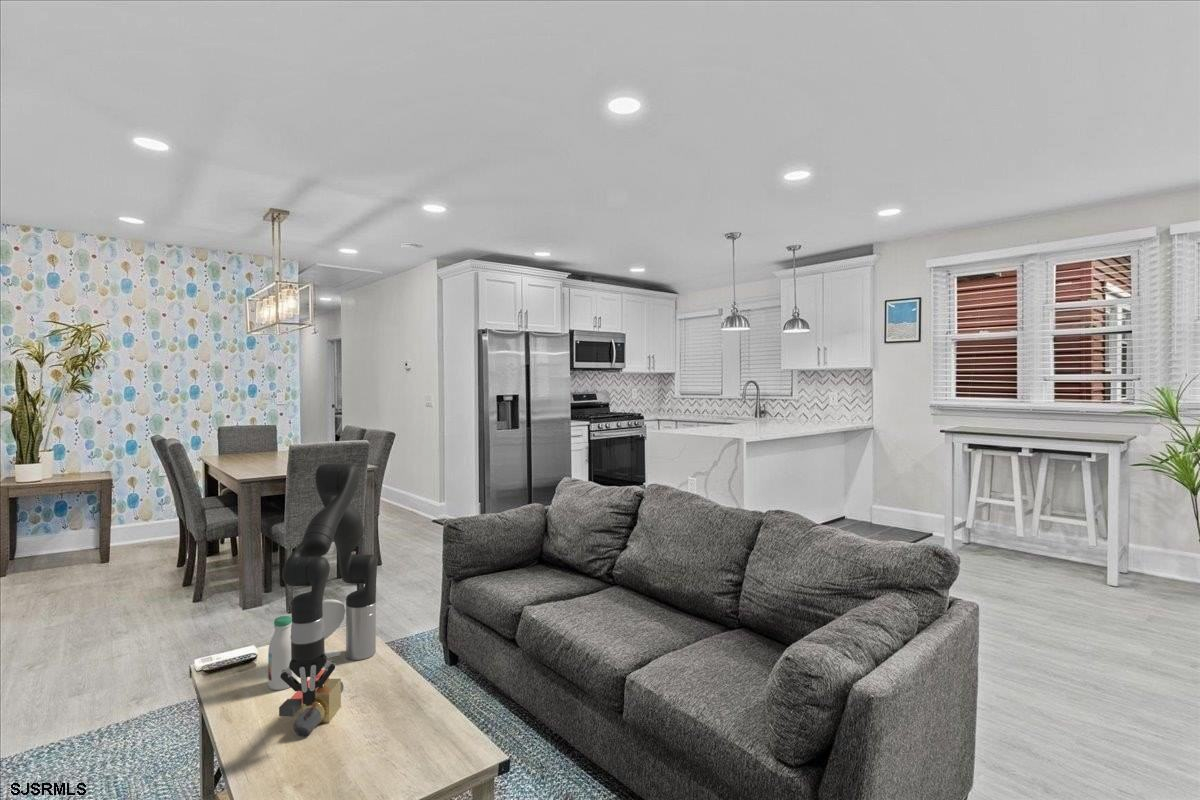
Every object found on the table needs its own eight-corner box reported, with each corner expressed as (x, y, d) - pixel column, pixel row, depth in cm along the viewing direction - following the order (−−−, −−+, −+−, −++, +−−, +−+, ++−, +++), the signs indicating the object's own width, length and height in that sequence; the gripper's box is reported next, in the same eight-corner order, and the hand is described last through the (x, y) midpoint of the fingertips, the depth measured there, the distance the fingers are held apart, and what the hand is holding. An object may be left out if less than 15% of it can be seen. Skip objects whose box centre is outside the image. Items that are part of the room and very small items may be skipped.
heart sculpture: (341, 648, 206) (341, 596, 206) (345, 653, 202) (345, 600, 202) (291, 660, 197) (291, 605, 196) (294, 666, 193) (294, 610, 192)
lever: (316, 677, 167) (316, 669, 167) (331, 677, 167) (331, 669, 167) (277, 716, 147) (277, 707, 147) (295, 716, 147) (295, 707, 147)
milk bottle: (302, 678, 185) (302, 614, 184) (287, 691, 177) (287, 624, 177) (278, 677, 186) (278, 612, 185) (262, 690, 178) (262, 622, 177)
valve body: (320, 696, 175) (320, 665, 175) (348, 695, 175) (348, 665, 175) (287, 736, 155) (287, 701, 155) (319, 735, 155) (319, 701, 155)
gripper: (336, 626, 158) (337, 691, 158) (279, 634, 153) (280, 702, 153) (336, 637, 151) (337, 706, 151) (276, 647, 146) (277, 717, 146)
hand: (309, 704), depth 152 cm, fingers closed
